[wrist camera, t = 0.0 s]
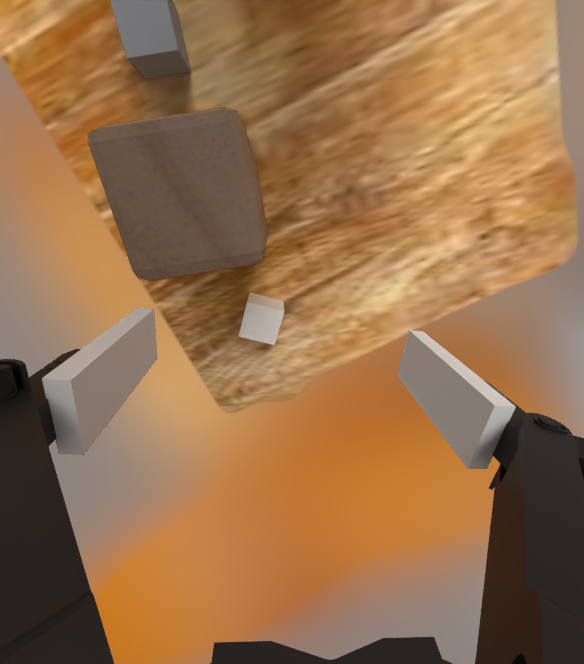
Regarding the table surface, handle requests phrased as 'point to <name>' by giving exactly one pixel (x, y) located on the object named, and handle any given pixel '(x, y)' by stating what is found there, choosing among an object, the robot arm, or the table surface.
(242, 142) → the block
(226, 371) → the table surface
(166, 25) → the slate cube
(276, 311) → the white cube
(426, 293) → the table surface
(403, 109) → the table surface
